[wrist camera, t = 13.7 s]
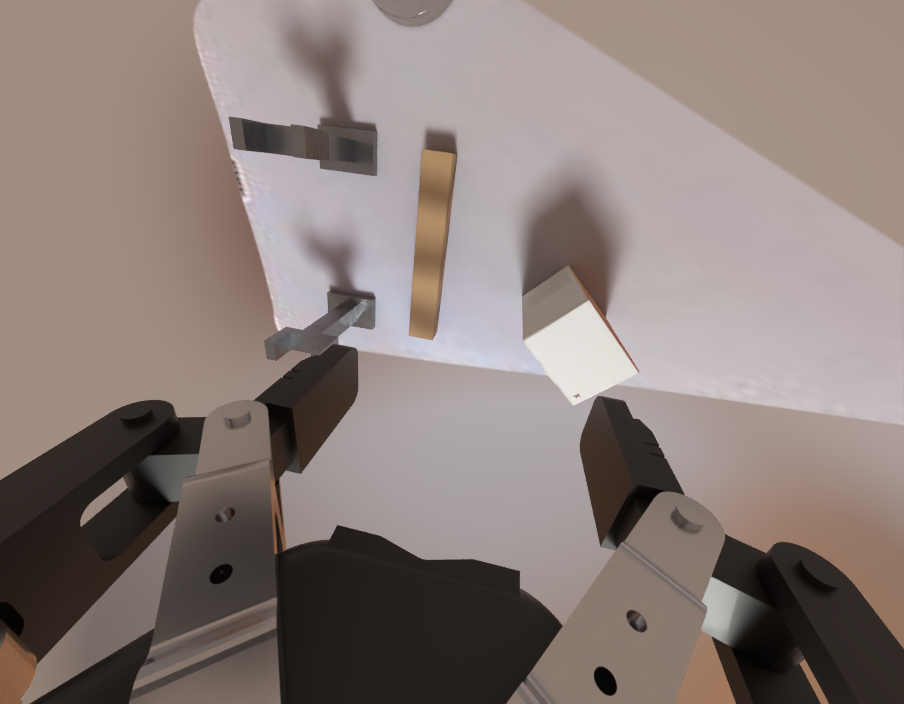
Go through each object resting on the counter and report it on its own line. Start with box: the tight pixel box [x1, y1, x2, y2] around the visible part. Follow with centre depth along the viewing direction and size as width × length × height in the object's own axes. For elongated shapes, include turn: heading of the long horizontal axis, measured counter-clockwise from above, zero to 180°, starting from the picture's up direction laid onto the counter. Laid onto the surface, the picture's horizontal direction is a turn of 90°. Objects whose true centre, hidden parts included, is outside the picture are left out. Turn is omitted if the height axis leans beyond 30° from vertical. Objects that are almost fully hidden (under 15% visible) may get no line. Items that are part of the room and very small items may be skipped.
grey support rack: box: [229, 117, 377, 361], centre depth 35 cm, size 22×6×14 cm, turn 173°
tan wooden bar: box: [409, 149, 457, 340], centre depth 39 cm, size 20×3×3 cm, turn 173°
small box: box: [522, 265, 639, 405], centre depth 34 cm, size 8×6×13 cm
